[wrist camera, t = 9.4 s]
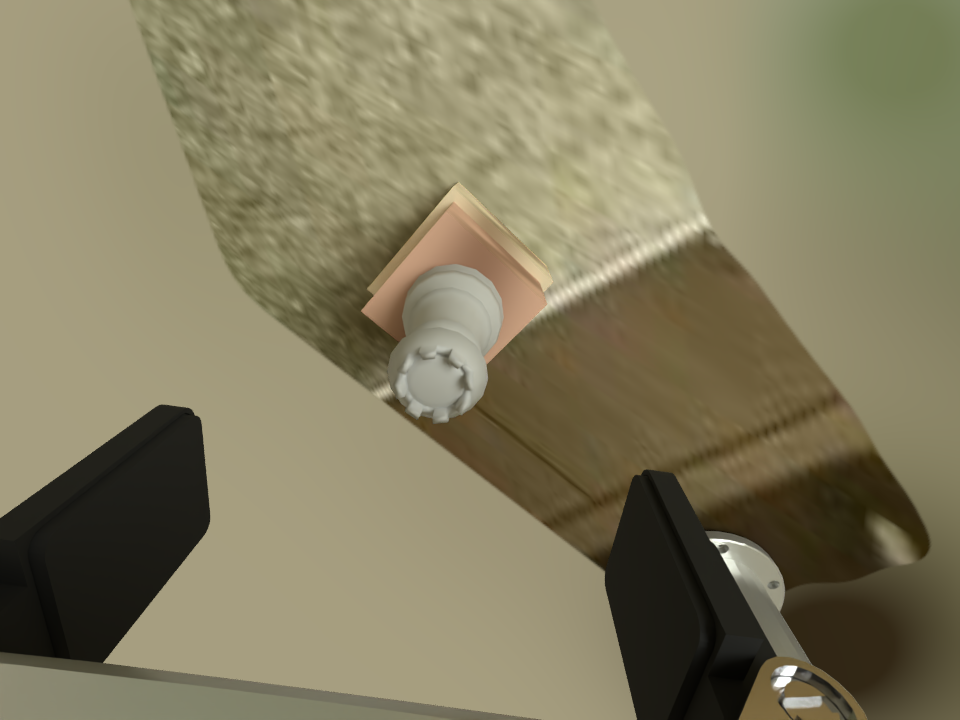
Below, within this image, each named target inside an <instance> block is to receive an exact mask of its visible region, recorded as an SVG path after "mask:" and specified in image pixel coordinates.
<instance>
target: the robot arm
mask: <svg viewBox="0 0 960 720" xmlns="http://www.w3.org/2000/svg"><path fill="white" fill-rule="evenodd" d="M204 456H205V455H204V445H203V434H202V424H201V420H200V418H199V417H198V416H195V415H194V413H193V411H192V410H191V409H190V408H185V407H177V406H170V405H159V406H157V407H155V408H154V409H152V410H151V411H150V412H148V413H147V414H145V415H144V416H143V417H141V418H140V419H139V420H137V421H136V422H134V423H133V424H132V425H130V426H129V427H127V428H126V429H124V430H123V431H122V432H120V433H119V434H117V435H116V436H115V437H113V438H112V439H110V440H109V441H108V442H106V443H105V444H103V445H102V446H101V447H99V448H98V449H96V450H95V451H94V452H92V453H91V454H90V455H88V456H87V457H85V458H84V459H83V460H81V461H80V462H78V463H77V464H76V465H74V466H73V467H71V468H70V469H69V470H67V471H66V472H65V473H63V474H62V475H60V476H59V477H57V478H56V479H55V480H53V481H52V482H50V483H49V484H48V485H46V486H45V487H43V488H42V489H41V490H39V491H38V492H36V493H35V494H34V495H32V496H31V497H29V498H28V499H27V500H25V501H24V502H22V503H21V504H20V505H18V506H17V507H15V508H14V509H13V510H11V511H10V512H8V513H7V514H6V515H4V516H3V517H1V518H0V720H538V719H531V718H523V717H516V716H509V715H502V714H494V713H487V712H480V711H471V710H465V709H458V708H450V707H442V706H435V705H428V704H421V703H413V702H406V701H398V700H390V699H383V698H375V697H367V696H359V695H352V694H344V693H336V692H329V691H321V690H313V689H305V688H298V687H290V686H282V685H274V684H266V683H258V682H251V681H243V680H235V679H227V678H219V677H210V676H202V675H195V674H187V673H178V672H170V671H163V670H154V669H145V668H138V667H130V666H121V665H113V664H106V663H103V662H104V661H105V659H106V658H107V657H108V656H109V654H110V653H111V652H112V651H113V649H114V648H115V647H116V646H117V644H118V643H119V641H121V639H122V638H123V637H124V635H125V634H126V633H127V632H128V631H129V629H130V628H131V627H132V625H133V624H134V623H135V622H136V620H137V619H138V618H139V617H140V615H141V614H142V613H143V612H144V610H145V609H146V608H147V606H148V605H149V604H150V602H152V600H153V599H154V598H155V596H156V595H157V594H158V593H159V591H160V590H161V589H162V588H163V586H164V585H165V584H166V583H167V581H168V580H169V579H170V577H171V576H172V575H173V574H174V572H175V571H176V570H177V569H178V567H179V566H180V565H181V564H182V562H183V561H184V560H185V559H186V557H187V556H188V555H189V553H190V552H191V551H192V550H193V548H194V547H195V546H196V545H197V544H198V542H199V541H200V540H201V539H202V537H203V536H204V535H205V533H206V531H207V529H208V526H209V523H210V508H209V498H208V487H207V476H206V466H205V457H204ZM605 587H606V592H607V596H608V600H609V604H610V608H611V612H612V617H613V621H614V625H615V629H616V633H617V637H618V642H619V646H620V650H621V654H622V658H623V663H624V667H625V671H626V675H627V679H628V683H629V688H630V692H631V696H632V700H633V704H634V708H635V713H636V717H637V720H867V718H866V715H865V713H864V712H863V710H862V709H861V707H860V706H859V705H858V703H857V702H856V700H855V699H854V698H853V696H851V694H850V693H849V692H848V691H847V690H845V689H844V688H843V686H841V685H840V684H839V683H838V682H837V681H836V680H834V679H833V678H832V677H830V676H829V675H828V674H826V673H825V672H824V671H822V670H820V669H818V668H816V667H815V666H813V665H811V663H810V661H809V660H808V658H807V656H806V655H805V653H804V651H803V650H802V648H801V646H800V645H799V643H798V642H797V640H796V639H795V637H794V635H793V633H792V632H791V630H790V629H789V627H788V625H787V623H786V622H785V620H784V619H783V617H782V615H781V614H780V610H781V607H782V604H783V602H784V593H785V587H784V582H783V577H782V575H781V573H780V571H779V569H778V567H777V566H776V564H775V563H774V562H773V560H772V559H771V557H770V556H769V554H767V553H766V552H765V551H764V550H763V549H762V548H761V547H760V546H758V545H757V544H755V543H753V542H752V541H750V540H748V539H746V538H743V537H740V536H737V535H734V534H730V533H724V532H718V531H705V530H704V528H703V527H702V525H701V523H700V521H699V519H698V517H697V515H696V514H695V512H694V510H693V508H692V506H691V504H690V503H689V501H688V499H687V497H686V495H685V493H684V492H683V490H682V488H681V486H680V484H679V482H678V481H677V479H676V477H675V475H674V474H673V473H669V472H661V471H654V470H644V471H643V473H642V474H641V476H640V475H635V476H634V477H633V479H632V482H631V485H630V489H629V492H628V496H627V499H626V502H625V506H624V509H623V513H622V516H621V519H620V523H619V526H618V530H617V533H616V536H615V540H614V543H613V547H612V550H611V553H610V557H609V560H608V564H607V567H606V571H605Z"/></svg>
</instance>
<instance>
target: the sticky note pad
mask: <svg viewBox="0 0 960 720" xmlns="http://www.w3.org/2000/svg"><path fill="white" fill-rule="evenodd" d="M452 264H458V265H462V266H465V267H469V268H473V269H476V270H477V271H479V272H480V273H481V274H483V275H484V276H485V277H486V278H488V279H489V280H490V281H492V283H493V285H494V286H495V288H496V290H497V292H498V293H499V295H500V297H501V299H502V307H503V315H504V318H503V322H502V327H501V330H500V333H499V336H498V340H497V342H496V343H495V344H494V346H493V347H492V348H491V349H490V350H489V351H488V353H487V354H486V355H485V356H484V359H485V360H486V364H487V363H488V362H489V361H490V360H491V359H492V358H493V357H494V356H495V355H497V354H498V353H499V352H500V351H501V350H502V349H503V348H504V347H505V346H506V345H507V344H508V343H509V342H510V341H511V340H512V339H513V338H514V337H515V336H516V335H517V334H518V333H519V332H520V331H521V330H522V329H523V328H524V327H525V326H526V325H527V324H528V323H529V322H530V321H531V320H532V319H533V318H534V317H535V316H536V315H537V314H538V313H539V312H540V311H541V310H542V309H543V308H544V307H545V306H546V305H547V303H546V300H545V297H544V293H543V292H544V291H545V290H546V289H547V288H548V287H549V286H550V285H551V284H552V283H553V280H552V277H551V275H550V273H549V270H548V268H547V266H546V265H545V264H544V263H543V262H542V261H541V260H540V259H539V258H538V257H537V256H536V255H535V254H534V253H533V252H532V251H531V250H530V249H528V248H527V247H526V246H525V245H524V244H523V243H522V242H521V241H520V240H519V239H518V238H517V237H516V236H515V235H514V234H513V233H512V232H511V231H510V230H509V229H508V228H506V227H505V226H504V225H503V224H502V223H501V222H500V221H499V220H498V219H497V218H496V217H495V216H494V215H493V214H492V213H491V212H490V211H489V210H488V209H487V208H486V207H485V206H483V205H482V204H481V203H480V202H479V201H478V200H477V199H476V198H475V197H474V196H473V195H472V194H471V193H470V192H469V191H468V190H467V189H466V188H465V187H464V186H463V185H461V184H460V183H459V182H458V183H457V184H456V185H454V186H453V187H452V189H451V190H450V191H449V192H448V193H447V194H446V196H445V197H444V198H443V199H442V200H441V202H440V203H439V204H438V205H437V206H436V207H435V209H434V210H433V211H432V212H431V213H430V215H429V216H428V217H427V218H426V219H425V221H424V222H423V223H422V224H421V225H420V226H419V228H418V229H417V230H416V231H415V232H414V234H413V235H412V236H411V237H410V238H409V240H408V241H407V242H406V243H405V244H404V245H403V247H402V248H401V249H400V250H399V251H398V253H397V254H396V255H395V256H394V257H393V259H392V260H391V261H390V262H389V263H388V264H387V266H386V267H385V268H384V269H383V270H382V272H381V273H380V274H379V275H378V276H377V278H376V279H375V280H374V281H373V282H372V283H371V285H370V286H369V287H368V288H367V290H368V291H369V292H371V293H372V294H373V295H374V296H373V297H372V298H371V300H370V301H369V302H368V303H367V304H366V306H365V307H364V308H363V309H362V310H361V312H363V313H364V314H365V315H366V316H367V317H369V318H370V319H371V320H372V321H374V322H375V323H376V324H377V325H378V326H380V327H381V328H382V329H383V330H384V331H386V332H387V333H388V334H389V335H391V336H392V337H393V338H394V339H395V340H397V341H398V342H400V341H401V340H402V338H404V337H406V335H405V330H404V325H403V320H402V313H403V309H404V304H405V299H406V297H407V293H408V291H409V289H410V288H411V287H412V285H413V284H414V282H415V281H416V280H417V278H418V277H419V276H420V275H422V274H424V273H426V272H427V271H429V270H431V269H433V268H434V267H436V266H444V265H452Z"/></svg>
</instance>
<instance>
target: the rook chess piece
mask: <svg viewBox="0 0 960 720" xmlns="http://www.w3.org/2000/svg"><path fill="white" fill-rule="evenodd" d="M503 318H504V315H503V307H502V299H501V297H500V295H499V293H498V292H497V290H496V288H495V286H494V285H493V283H492V281H490V280H489V279H488V278H486V277H485V276H484V275H483V274H481V273H480V272H479V271H477V270H476V269H473V268H469V267H465V266H462V265H458V264H452V265H444V266H436V267H434V268H433V269H431V270H429V271H427V272H426V273H424V274H422V275H420V276H419V277H418V278H417V280H416V281H415V282H414V284H413V285H412V287H411V288H410V289H409V291H408V293H407V297H406V299H405V304H404V309H403V313H402V320H403V325H404V330H405V335H406V337H404V338H402V340H401V341H400V342H399V343H398V345H397V346H396V347H395V349H394V350H393V351H392V353H391V355H390V360H389V365H388V369H387V373H388V377H389V382H390V387H391V389H392V391H393V392H394V394H395V396H396V399H399V401H400V402H401V404H403V405H404V406H406V409H405V412H406V413H408V414H409V415H411V416H412V417H414V418H415V419H417V420H418V418H419V416H420V415H422V416H426V417H430V418H433V424H436V423H446V422H448V420H449V418H451V417H456V416H458V415H461V416H462V415H463V413H464V412H466V411H468V410H470V409H472V407H473V406H474V405H475V404H476V403H477V402H478V401H479V399H480V398H481V397H482V396H483V393H484V390H485V387H486V384H487V380H488V375H487V367H486V360H485V359H484V356H485V355H486V354H487V353H488V351H489V350H490V349H491V348H492V347H493V346H494V344H495V343H496V342H497V340H498V336H499V333H500V330H501V327H502V322H503Z"/></svg>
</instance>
